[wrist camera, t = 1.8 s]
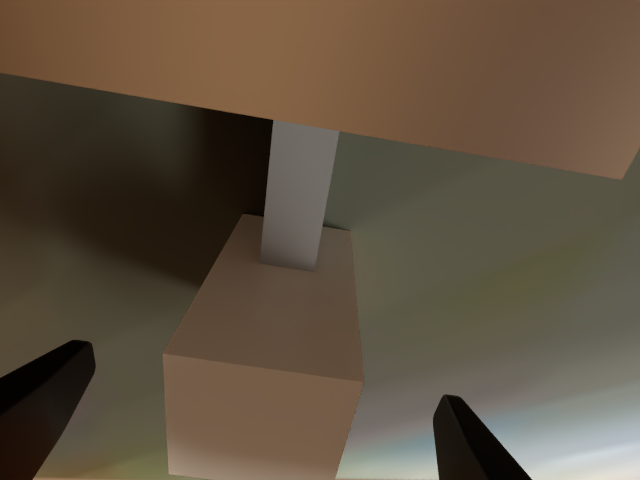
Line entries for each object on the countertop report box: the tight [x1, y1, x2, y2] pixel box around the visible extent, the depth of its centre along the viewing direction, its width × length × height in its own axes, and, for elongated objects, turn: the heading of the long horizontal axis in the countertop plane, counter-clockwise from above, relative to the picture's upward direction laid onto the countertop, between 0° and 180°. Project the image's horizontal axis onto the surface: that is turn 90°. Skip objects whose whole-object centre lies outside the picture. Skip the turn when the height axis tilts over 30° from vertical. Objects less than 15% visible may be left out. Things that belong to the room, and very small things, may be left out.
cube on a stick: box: [163, 120, 364, 480], centre depth 9 cm, size 4×16×7 cm, turn 171°
